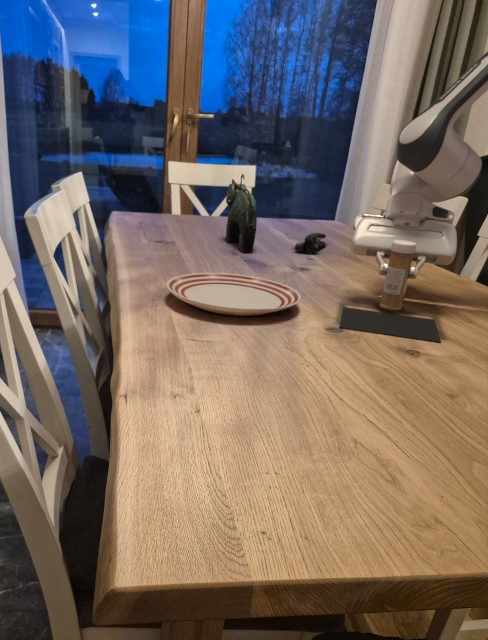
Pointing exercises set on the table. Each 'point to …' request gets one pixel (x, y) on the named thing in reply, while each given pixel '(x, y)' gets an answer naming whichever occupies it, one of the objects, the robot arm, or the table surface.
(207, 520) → the table surface
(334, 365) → the table surface
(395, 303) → the sprinkles bottle
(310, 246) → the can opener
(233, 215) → the green horse figurine
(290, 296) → the dinner plate
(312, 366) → the table surface
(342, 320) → the rubber mat
